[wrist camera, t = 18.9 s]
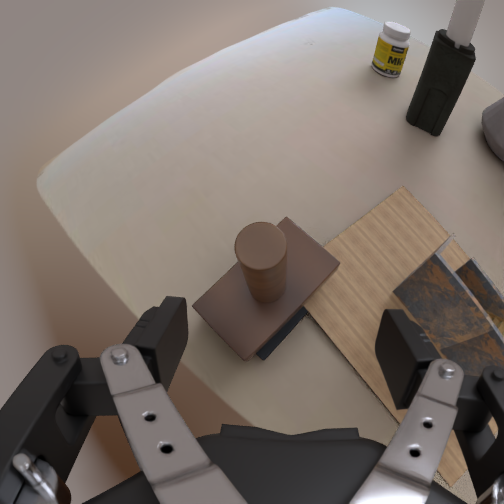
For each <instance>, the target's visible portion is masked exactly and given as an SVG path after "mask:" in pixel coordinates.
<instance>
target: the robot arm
mask: <svg viewBox="0 0 504 504" xmlns="http://www.w3.org/2000/svg"><path fill="white" fill-rule="evenodd" d="M426 335H427V334H426V333H425V331H424V330H423V328H422V327H421V326H419V325H418V324H417V323H415V322H414V321H410V319H409V318H408V316H407V315H406V313H405V312H404V310H403V309H385V310H384V311H383V314H382V318H381V322H380V326H379V329H378V333H377V337H376V341H375V355H376V358H377V360H378V363H379V365H380V368H381V370H382V373H383V375H384V378H385V381H386V383H387V386H388V388H389V391H390V394H391V396H392V399H393V402H394V405H395V407H396V410H402V409H408V411H407V413H406V415H405V416H404V418H403V420H402V422H401V424H400V426H399V427H398V429H397V431H396V433H395V435H394V436H393V438H392V440H391V441H390V443H389V445H388V447H387V446H385V445H383V444H381V443H379V442H376V441H374V440H371V439H367V438H362V437H359V433H358V428H337V429H322V430H317V431H313V432H308V433H302V434H297V435H287V434H282V433H278V432H274V431H270V430H266V429H262V428H258V427H250V426H238V425H227V424H222V427H221V432H220V433H218V434H210V435H205V436H202V437H198V438H196V439H195V437H194V436H193V434H192V433H191V431H190V430H189V428H188V426H187V425H186V423H185V422H184V420H183V419H182V417H181V415H180V414H179V412H178V411H177V409H176V407H175V406H174V404H173V402H172V401H171V399H170V397H169V396H168V394H167V391H168V388H169V386H170V384H171V381H172V379H173V376H174V373H175V371H176V369H177V367H178V364H179V362H180V359H181V357H182V355H183V352H184V350H185V348H186V345H187V341H188V320H187V304H186V299H185V298H183V297H172V296H166V298H165V299H164V300H163V302H162V303H161V305H160V306H159V307H152V308H150V309H149V310H147V311H146V312H144V313H143V315H142V316H141V318H140V319H139V321H138V322H137V323H136V325H135V327H134V328H133V329H132V330H131V332H130V333H129V335H128V336H127V337H126V339H125V340H124V342H123V343H122V344H116V345H113V346H110V347H108V348H106V349H105V350H104V351H103V352H102V353H101V355H100V357H98V358H80V357H79V354H78V351H77V350H76V348H74V347H72V346H69V345H59V346H55V347H52V348H50V349H49V350H47V351H46V352H45V353H44V355H43V356H42V357H41V358H40V360H39V361H38V362H37V363H36V364H35V366H34V367H33V368H32V369H31V371H30V372H29V373H28V374H27V376H26V377H25V378H24V379H23V381H22V382H21V383H20V384H19V386H18V387H17V388H16V390H15V391H14V392H13V394H12V395H11V396H10V398H9V399H8V400H7V402H6V403H5V404H4V406H3V407H2V408H1V410H0V504H70V503H71V493H70V490H69V488H68V487H67V486H66V484H65V483H66V480H67V478H68V476H69V473H70V471H71V469H72V467H73V465H74V463H75V460H76V458H77V456H78V454H79V452H80V449H81V447H82V445H83V443H84V441H85V439H86V437H87V435H88V432H89V430H90V428H91V426H92V424H93V422H94V420H95V418H96V416H99V415H102V416H105V415H118V418H119V421H120V423H121V426H122V428H123V431H124V433H125V436H126V438H127V441H128V443H129V445H130V447H131V450H132V452H133V455H134V457H135V459H136V461H137V464H138V466H139V468H140V470H141V471H140V472H139V473H137V474H135V475H134V476H132V477H130V478H128V479H127V480H125V481H123V482H121V483H119V484H118V485H116V486H114V487H112V488H110V489H109V490H107V491H105V492H103V493H101V494H100V495H97V496H96V497H94V498H92V499H90V500H88V501H86V502H84V503H82V504H467V503H466V502H464V501H463V500H461V499H460V498H458V497H457V496H455V495H454V494H452V493H451V492H449V491H448V490H446V489H445V488H444V487H442V486H441V485H439V484H438V483H436V482H435V481H434V480H433V478H434V475H435V473H436V471H437V468H438V466H439V463H440V461H441V458H442V456H443V453H444V450H445V448H446V445H447V442H448V439H449V436H450V434H451V431H452V430H454V432H455V435H456V438H457V440H458V443H459V445H460V448H461V451H462V454H463V456H464V459H465V462H466V465H467V468H468V471H469V474H470V477H471V480H472V483H473V486H474V489H475V492H476V495H477V501H476V504H504V369H503V368H500V367H498V366H487V367H485V368H484V369H483V371H482V373H481V375H480V377H478V376H470V375H464V372H463V369H462V368H461V367H460V366H459V365H458V364H457V363H455V362H453V361H451V360H448V359H442V357H441V356H440V354H439V353H438V351H437V350H436V348H435V346H434V345H433V343H432V342H430V339H429V337H428V336H426ZM492 417H493V418H494V420H495V422H496V424H497V426H498V435H497V438H496V439H495V437H494V435H493V433H492V431H491V428H490V426H489V424H488V423H489V422H490V420H491V419H492Z"/></svg>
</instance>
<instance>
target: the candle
mask: <svg viewBox="0 0 504 504" xmlns="http://www.w3.org/2000/svg"><path fill="white" fill-rule="evenodd" d="M484 2H485V0H456V3H455V7H454V10H453V13H452V16H451V20H450V23H449V26H448V29H447V30H444V29H441V30H439V31H436V33H435V36H434V39H433V42H432V45H431V48H430V51H429V54H428V57H427V60H426V63H425V65H424V68H423V71H422V74H421V77H420V79H419V82H418V85H417V87H416V90H415V93H414V95H413V98H412V101H411V103H410V106H409V109H408V112H407V116H406V119H407V121H408V122H409V123H410V124H411V125H413V126H417V127H419V128H421V129H423V130H425V131H427V132H429V133H431V135H433V136H439V135H440V134H441V132H442V130H443V128H444V126H445V124H446V122H447V120H448V118H449V116H450V114H451V112H452V110H453V108H454V106H455V104H456V102H457V100H458V98H459V96H460V93H461V91H462V89H463V87H464V85H465V83H466V80H467V78H468V76H469V74H470V72H471V69H472V67H473V65H474V62H475V60H476V58H475V52H474V51H475V48H474V46H473V45H472V44H471V43H470V41H471V39H472V36H473V33H474V31H475V28H476V25H477V22H478V19H479V17H480V14H481V11H482V8H483V5H484Z"/></svg>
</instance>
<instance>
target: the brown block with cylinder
mask: <svg viewBox="0 0 504 504" xmlns="http://www.w3.org/2000/svg"><path fill="white" fill-rule="evenodd" d="M234 247H235V254H236V257H237V259H238V262H237V263H236V264H235V265H234V266H233V267H232V268H231V269H230V270H229V271H228V272H227V273H226V274H225V275H224V276H223V277H222V278H220V279H219V280H218V281H217V282H216V283H215V284H214V285H213V286H212V287H211V288H210V289H209V290H208V291H207V292H206V293H205V294H204V295H203V296H201V297H200V298H199V299H198V300H197V301H196V302H195V303H194V304H193V305H192V307H193V308H194V309H195V310H196V311H197V312H198V314H199V315H200V316H201V317H202V318H203V319H204V320H205V321H206V322H207V323H208V324H209V325H210V326H211V327H212V329H213V330H214V331H215V332H216V333H217V334H218V335H219V336H220V337H221V338H222V339H223V340H224V341H225V342H226V343H227V344H228V345H229V346H230V347H231V348H232V349H233V350H234V351H235V352H236V353H237V354H238V355H239V356H240V357H241V358H242V359H243V360H244V361H246V362H248V361H249V360H250V359H251V358H252V357H253V356H254V355H255V354H256V353H257V352H258V351H259V350H260V349H261V348H262V347H263V346H264V345H265V344H266V343H267V342H268V341H269V340H270V339H271V338H272V337H273V336H274V335H275V334H276V333H277V332H278V331H279V330H280V329H281V328H282V327H283V326H284V325H285V324H286V323H287V322H288V321H289V320H290V319H291V318H292V317H293V316H294V315H295V314H296V313H297V312H298V311H299V310H300V309H301V308H302V307H303V306H304V305H305V304H306V303H307V302H308V301H309V300H310V298H311V297H312V296H313V295H314V294H315V293H316V292H317V291H318V290H319V289H320V288H321V287H322V286H323V285H324V284H325V283H326V281H327V280H328V279H329V278H330V277H331V276H332V275H333V274H334V273H335V272H336V271H337V269H338V267H339V265H340V262H339V261H338V260H337V259H336V258H335V257H334V256H332V255H331V254H330V253H329V252H328V251H327V250H326V249H324V248H323V247H322V246H321V245H320V244H319V243H317V242H316V241H315V240H314V239H313V238H311V237H310V236H309V235H308V234H307V233H306V232H304V231H303V230H302V229H301V228H300V227H298V226H297V225H296V224H295V223H294V222H292V221H291V220H290V219H289V218H288V217H285V218H284V219H283V220H282V221H281V222H280V223H279V224H278V225H277V226H275V225H273V224H271V223H267V222H256V223H253V224H250V225H248V226H246V227H245V228H244V229H242V231H241V232H240V233H239V234H238V236H237V238H236V241H235V246H234Z"/></svg>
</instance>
